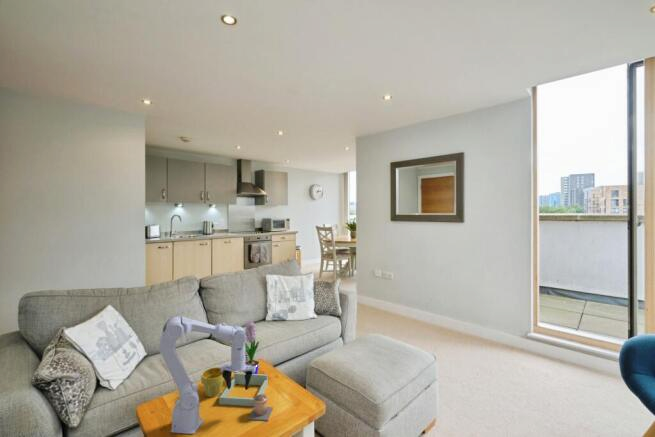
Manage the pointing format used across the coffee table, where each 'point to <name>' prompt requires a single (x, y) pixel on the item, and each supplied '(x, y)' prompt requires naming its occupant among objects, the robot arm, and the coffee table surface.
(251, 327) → the hyacinth
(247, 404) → the frame
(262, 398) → the terracotta pot
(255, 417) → the slate pad
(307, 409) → the coffee table surface
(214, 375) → the plant pot
